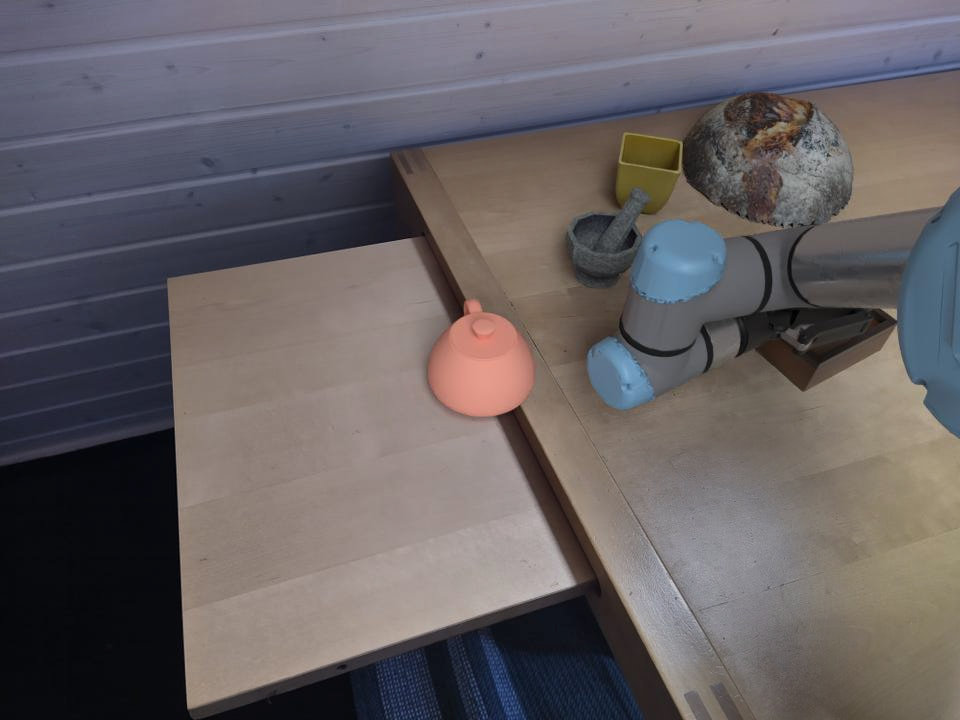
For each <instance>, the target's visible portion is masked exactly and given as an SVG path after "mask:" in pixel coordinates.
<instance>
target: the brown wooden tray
mask: <svg viewBox="0 0 960 720" xmlns="http://www.w3.org/2000/svg"><path fill="white" fill-rule="evenodd" d="M869 312H871V313H873V315H874V318H873V319H872V321H871V323H870V324H869V326H868V327H867V329H866V331H865V332H864V333H863V334H860V335H857V336H853V337H849V338H846V339H842V340H838V341H834V342H831V343H827V344H823V345H820V346H816V347H812V348H810V349H809V350H808V351H806V352H805V353H804V354H803V355H801V356H798V355H795V354H794V353H793V352H792V348H793V345H791V344H790V343H788V342H787V341H785V340H784V339H782V338H781V339H778V340H768V341H766V342H765V343H763V344H762V345H760V346H759V347H757V348H755V349H754V351H756V352H757V353H758V354H759V355H760V356H761V357H763V358H764V359H765V360H767V362H768V363H770V364H771V365H772V366H773V367H774V368H775V369H776V370H778V371H779V372H780V373H781V374H782V375H784V377H786V378H787V379H788V380H789V381H790V382H791V383H792V384H793V385H795V386H796V387H797V388H798V389H799V390H800V391H801V392H802V393H805V392H807V391H809V390H810V389H812V388H813V387H815V386H818V385H819V384H821V383H823V382H824V381H826V380H828V379H831V378H832V377H833V376H836V375H838V374H839V373H841V372H843V371H845V370H848V368H851V367H852V366H854V365H855V364H858V363H859V362H861V361H863V360H865V359H867V358H868V357H870V356H872V355H874V354H876V353H878V352H879V351H881V350H882V349H883V347H884V346H885V344H886V343H887V341H888V340H889V338H890V336H891V335H892V333H893V332H894V330H895V329H896V328H897V318H894V317H893V316H892V315H890V314H889V313H888V312H886V311H885V310H884V309H878V308H875V309H873V310H872V311H869ZM791 329H794V330H796V329H795V328H791Z"/></svg>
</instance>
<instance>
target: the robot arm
mask: <svg viewBox="0 0 960 720" xmlns="http://www.w3.org/2000/svg"><path fill="white" fill-rule="evenodd" d="M629 275H630V278H629V283H628V288H627V293H626V298H625V302H624V307H623V310H622V313H621V315H620V317H619V320H618V323H617V328H616V332H615V333H614V334H613V335H611V336H606V337H603V338H602V340H600V341H598V342H597V343H596V344H594V345H592V346H591V348H590V349H589V350H588V352H587V355H586V361H585V362H586V371H587V375H588V379H589V381H590V384H591V386H592V388H593V389H594V391H595V393H596V394H597V396H599V397H600V398H601V399H602V401H603V402H604V403H605V404H606V405H607V406H609V407H611V408H612V409H615V410H618V411H628V410H631V409H633V408H636V407H637V406H640V405H643V404H645V403H647V402H648V403H649V402H653V401H654V400H656V399H658V398H659V397H661V396H663V395H665V394H667V393H669V392H670V391H673V390H675V389H676V388H678V387H680V386H683V385H684V384H686V383H688V382H690V381H692V380H695V379H696V378H698V377H699V376H701V375H703V374H706V373H708V372H710V371H712V370H714V369H716V368H718V367H720V366H723V365H724V364H726V363H728V362H730V361H732V360H734V359H737V358H739V357H741V356H743V355H745V354H747V353H750V352H751V351H753V350H755V348H757V347H759V346H760V345H762V344H763V343H765V342H766V341H768V340H778V339H781V338H782V339H784V340H785V341H787V342H788V343H790V344H791V345H793V348H792V352H793V353H794V354H795V355H798V356H801V355H803V354H804V353H805V352H806V351H808V350H809V349H810V348H812V347H816V346H820V345H823V344H827V343H831V342H834V341H838V340H842V339H846V338H849V337H853V336H857V335H860V334H863V333H864V332H865V331H866V329H867V327H868V326H869V324H870V323H871V321H872V319H873V318H874V315H873V313H871V312H869V311H872V310H873V309H875V308H878V309H882V310H885V309H886V310H896V320H897V326H896V332H897V340H898V346H899V352H900V355H901V358H902V362H903V365H904V369H905V371H906V374H907V376H908V378H909V379H910V382H911V384H913V385H915V386H923V387H924V389H926V394H925V396H924V399H923V401H922V402H923V405H924V407H925V408H926V409H927V410H928V412H929V413H930V414H931V415H932V417H934V419H935V420H937V422H938V423H939V424H940V425H941V426H942V427H943V428H944V429H946V431H948V432H949V433H950V434H952V435H953V436H955V437H956V438H957V439H959V440H960V186H959V187H958V188H957V189H955V190H954V191H953V192H952V193H951V194H950V196H949V197H948V199H947V200H946V202H945V204H944V205H938V206H933V207H925V208H919V209H912V210H911V209H910V210H905V211H898V212H892V213H891V212H890V213H884V214H877V215H871V216H864V217H863V216H862V217H857V218H850V219H844V220H836V221H828V222H827V223H815V222H812V223H810V224H808V225H804V224H800V225H797V226H796V227H794V228H793V227H787V228H781V229H776V230H771V231H764V232H759V233H754V234H747V235H737V236H731V237H724V238H723V237H722V235H721V234H720V233H719V232H717V230H715V229H714V228H713V227H711V226H709V225H707V224H706V223H703V222H700V221H698V220H692V221H686V220H683V219H682V218H670V219H665V220H662V221H660V222H657V223H656V224H654V225H653V226H651V227H650V228H649V229H648V230H647V231H646V232H645V234H644V236H643V238H642V242H641V244H640V246H639V249H638V252H637V254H636V257H635V259H634V261H633V264H632V266H631V269H630V273H629ZM806 324H814V325H811V326H809V327H808V328H807V327H806V326H802V327H801V329H796V330H794V329H791V328H796V327H798V326H799V325H806Z"/></svg>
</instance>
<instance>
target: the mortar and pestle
mask: <svg viewBox="0 0 960 720" xmlns="http://www.w3.org/2000/svg"><path fill="white" fill-rule="evenodd" d="M650 200H651V197H650V195H649V194H648V193H646V192H645V191H643V190H641V189H639V188H633V189H632V191H631V192H630V197H629V199H628V200H627V202H626V203H625V204H624V206H623V207H622V208H620V210H619V211H618V212H617V213H616V212H609V211H596V210H595V211H594V210H591V211H588V212H586V213H583V214H580V215H578V216H575V217H573V219H572V220H571V223H570V224H569V226H568V227H567V230H566V234H565V250H566V251H567V253H568V255H569V258H570V259H571V262H572V263H573V265H574V268H573V269H574V270H573V273H574V276H575V277H576V279H577V281H578V283H581V284H582V285H584V286H586V287H588V288H590V289H598V290H599V289H602V290H606V289H608V288H610V287H613V286H615V285H617V283H618V280H619V278H620V275H621V274H623V273H626V272H627V271H628V270H629V269H630V268H632V265H633V263H634V260H635V257H636V254H637V252H638V249H639V246H640V244H641V242H642V239H643V237H644V236H643V234H642V232H641V231H640V229H639V228H638V226H637V224H636V222H637V220H638V218H639V216H640V215H641V213H642V212H641V211H642V209H643V208H644V206H645V205H646V204H648V203H649V201H650Z"/></svg>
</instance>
